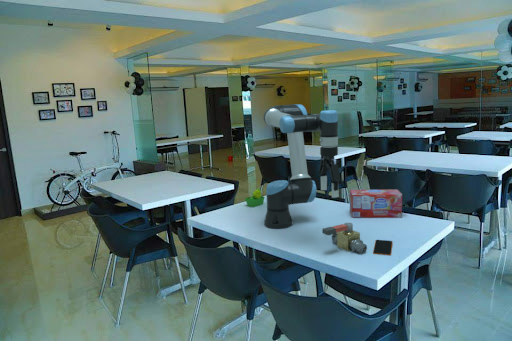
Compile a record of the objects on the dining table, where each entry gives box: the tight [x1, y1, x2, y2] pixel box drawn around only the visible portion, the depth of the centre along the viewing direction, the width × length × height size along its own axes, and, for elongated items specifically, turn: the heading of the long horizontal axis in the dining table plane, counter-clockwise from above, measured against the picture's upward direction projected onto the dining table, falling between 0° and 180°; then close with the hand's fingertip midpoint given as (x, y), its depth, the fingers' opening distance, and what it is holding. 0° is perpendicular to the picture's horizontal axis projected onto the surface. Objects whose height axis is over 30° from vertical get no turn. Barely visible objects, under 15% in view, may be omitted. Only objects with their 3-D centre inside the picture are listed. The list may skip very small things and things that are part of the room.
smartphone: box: [372, 239, 393, 257], centre depth 175 cm, size 8×17×1 cm, turn 159°
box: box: [349, 188, 403, 219], centre depth 222 cm, size 27×13×14 cm, turn 82°
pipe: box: [331, 230, 368, 255], centre depth 177 cm, size 18×7×8 cm, turn 29°
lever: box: [321, 222, 354, 236], centre depth 173 cm, size 4×15×4 cm, turn 119°
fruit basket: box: [244, 188, 266, 208], centre depth 252 cm, size 11×9×11 cm
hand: (329, 193), depth 176 cm, fingers open, 13 cm apart
